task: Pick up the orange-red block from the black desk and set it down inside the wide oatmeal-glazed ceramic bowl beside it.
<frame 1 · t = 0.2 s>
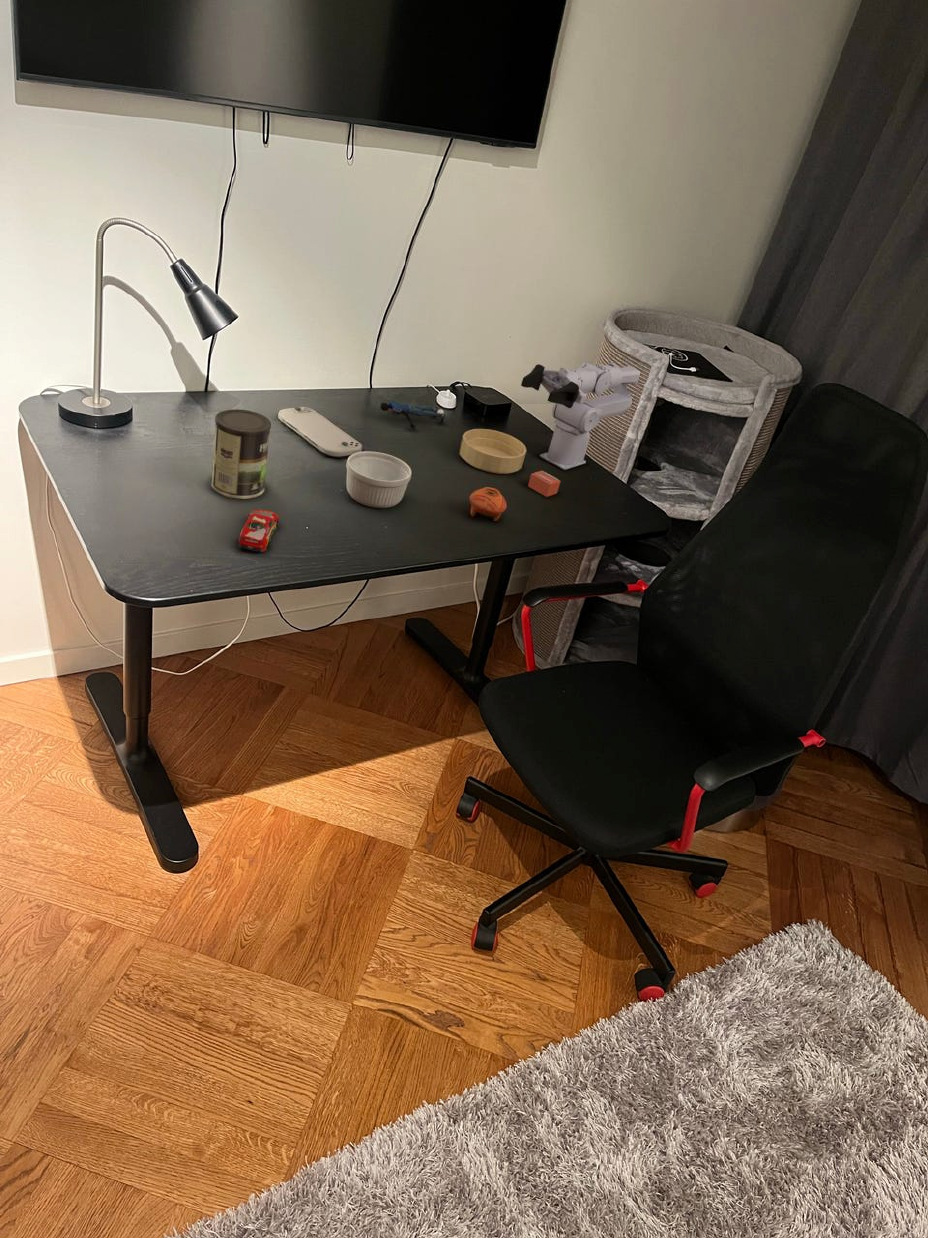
hand: (536, 389, 199), 21 cm above the table, tool horizontal, fingers open, 7 cm apart
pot: (484, 516, 191), on the table
coffee can: (237, 487, 179), on the table
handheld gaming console: (318, 437, 206), on the table
ramekin: (374, 496, 188), on the table
race car: (258, 537, 166), on the table
bowl: (490, 460, 216), on the table
person figurine: (410, 422, 225), on the table
orange-red block: (542, 489, 208), on the table
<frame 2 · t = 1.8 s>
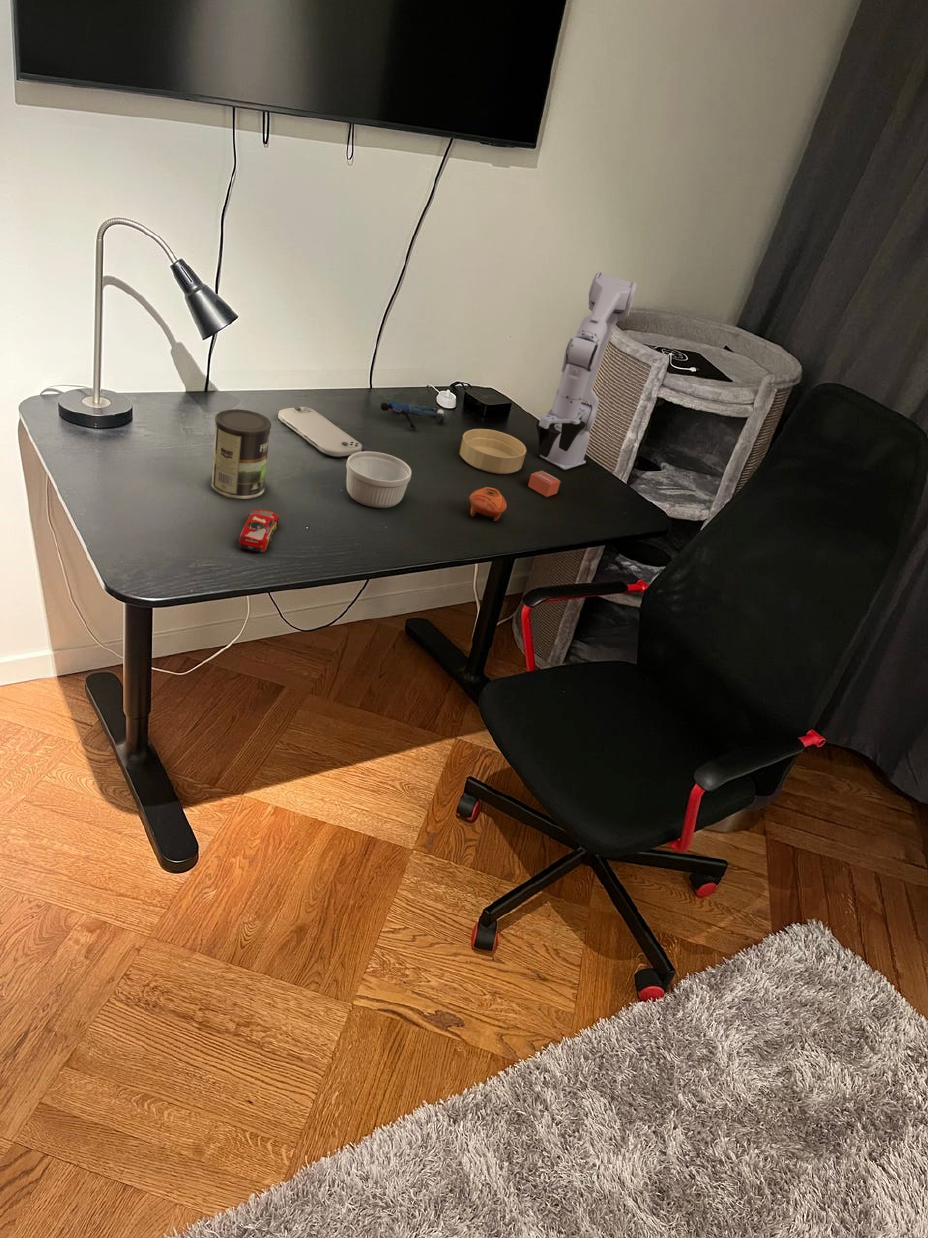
hand: (553, 452, 203), 9 cm above the table, tool pointing down, fingers open, 7 cm apart
nothing on the table moved.
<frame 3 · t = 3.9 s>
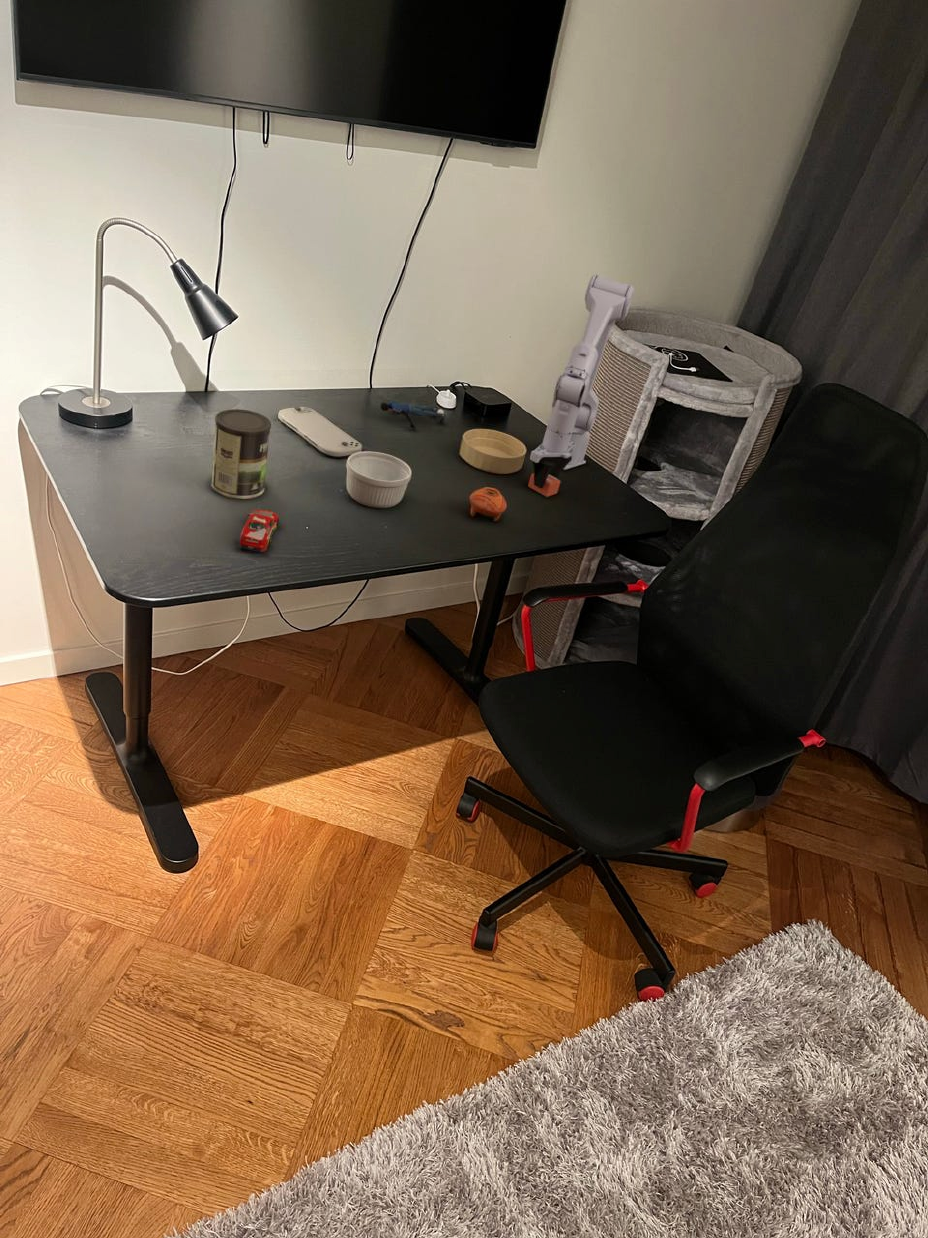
hand: (543, 484, 207), 1 cm above the table, tool pointing down, fingers closed on orange-red block, 4 cm apart
orange-red block: (542, 489, 208), on the table, touching gripper
everything else where it was.
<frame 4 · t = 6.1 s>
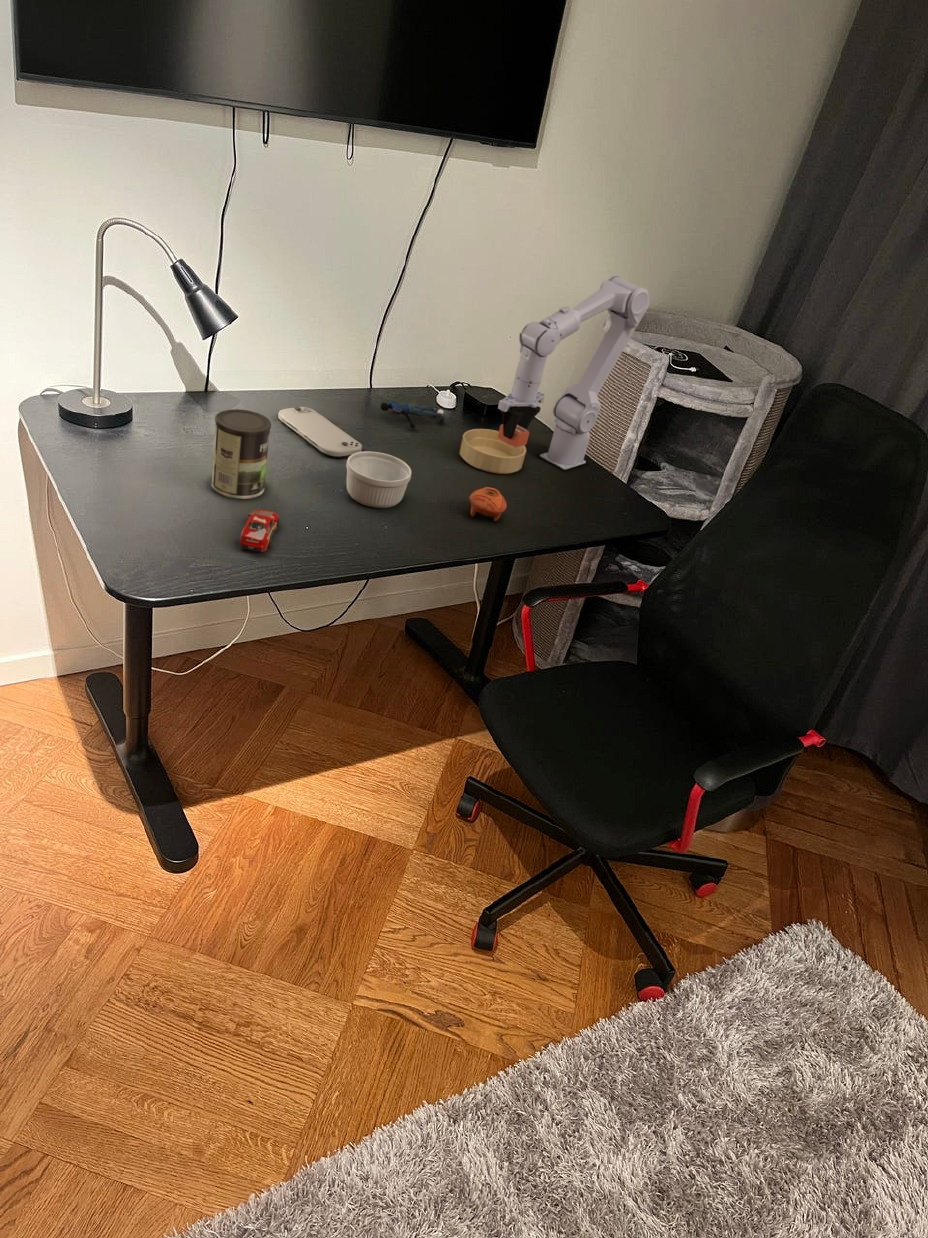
hand: (513, 435, 209), 8 cm above the table, tool pointing down, fingers closed on orange-red block, 4 cm apart
orange-red block: (511, 440, 210), point 7 cm above the table, touching gripper
everything else where it was.
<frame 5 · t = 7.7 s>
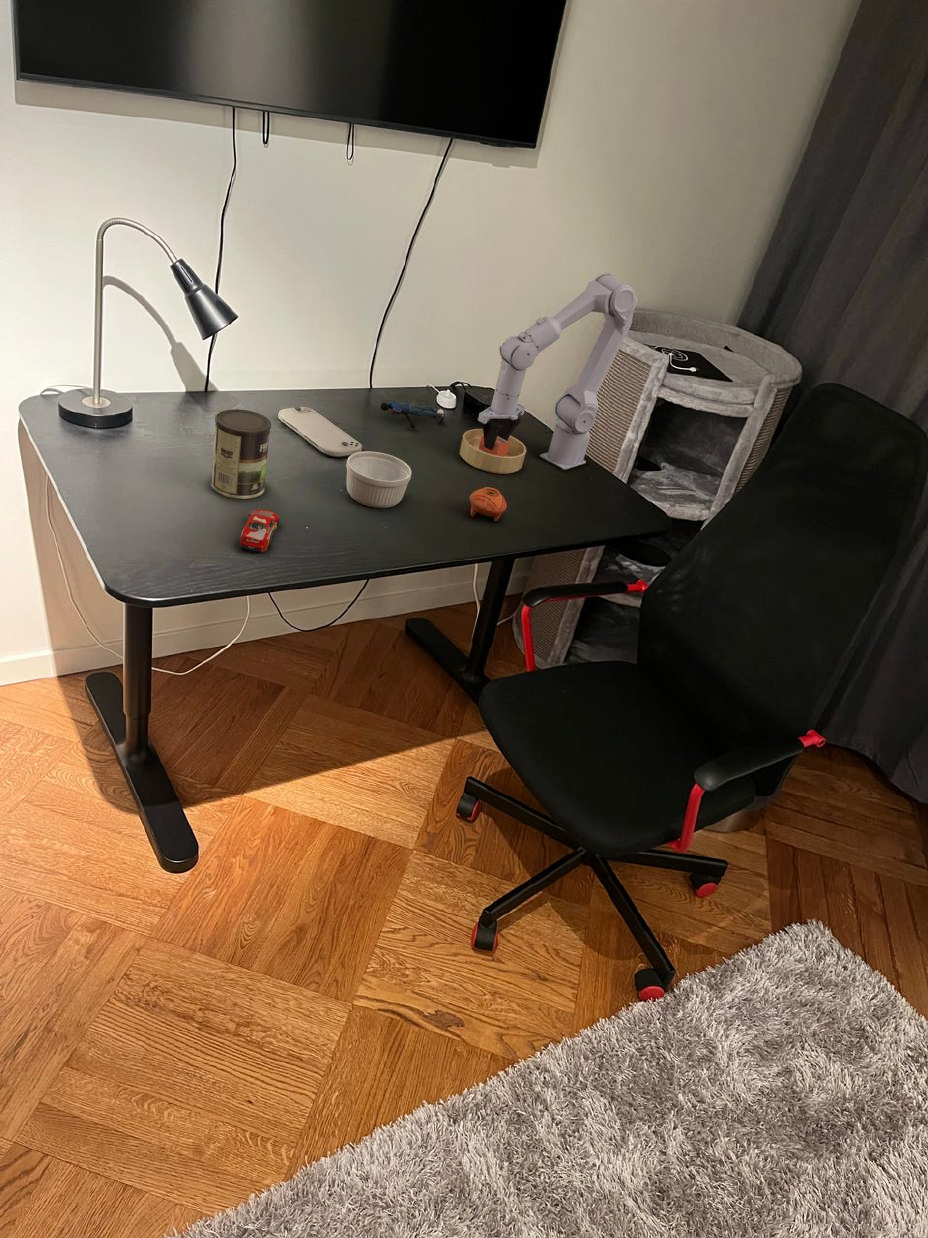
hand: (493, 446, 214), 4 cm above the table, tool pointing down, fingers closed on orange-red block, 4 cm apart
orange-red block: (492, 451, 214), point 2 cm above the table, touching gripper
everything else where it was.
when the fingers open (2 cm above the table, at t = 8.6 s): orange-red block stays where it is, resting on bowl.
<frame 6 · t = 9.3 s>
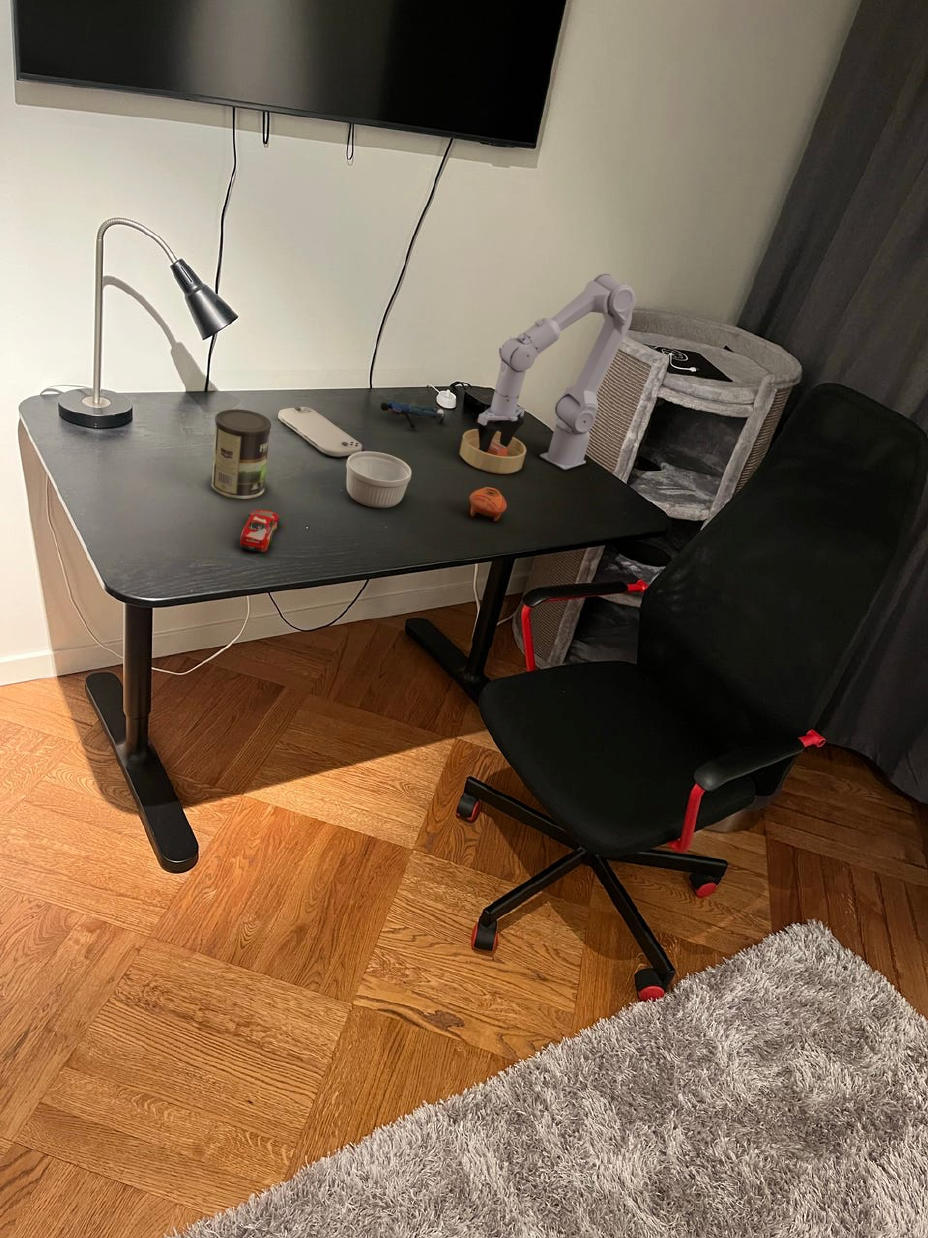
hand: (493, 447, 214), 3 cm above the table, tool pointing down, fingers open, 7 cm apart
orange-red block: (491, 457, 215), point 1 cm above the table, touching bowl
everything else where it was.
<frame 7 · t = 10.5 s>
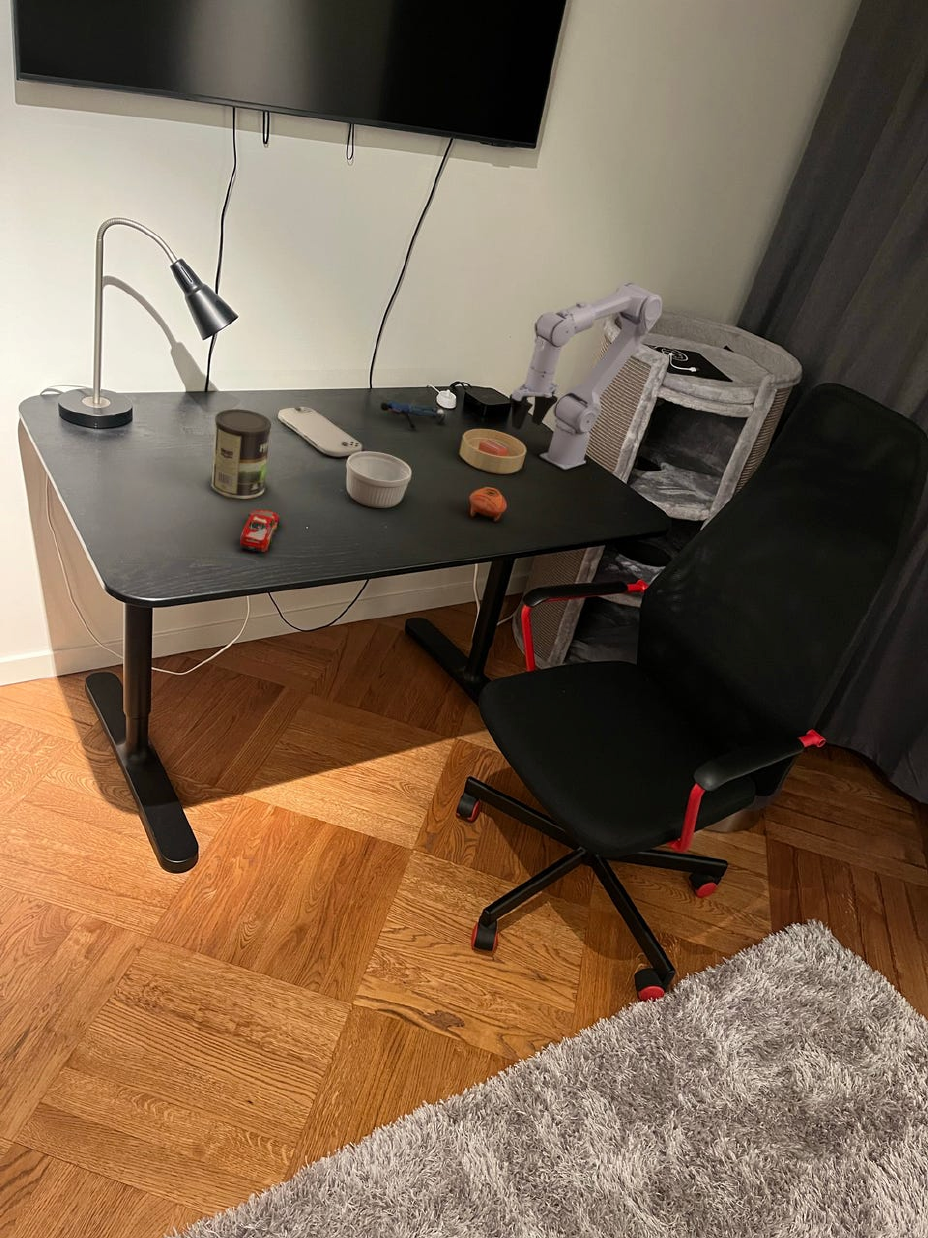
hand: (526, 425, 210), 10 cm above the table, tool pointing down, fingers open, 7 cm apart
nothing on the table moved.
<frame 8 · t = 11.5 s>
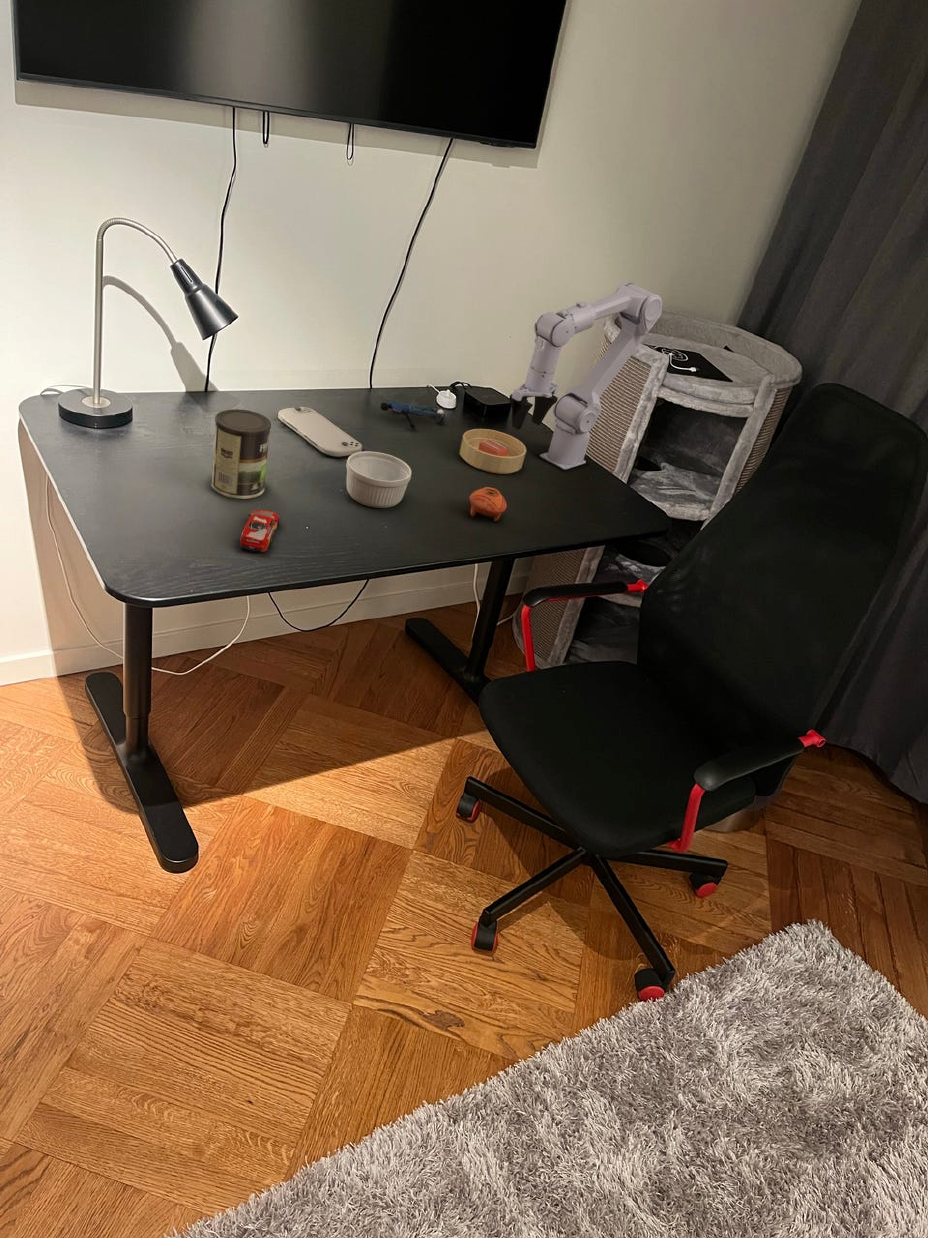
hand: (526, 425, 210), 10 cm above the table, tool pointing down, fingers open, 7 cm apart
nothing on the table moved.
at the end: orange-red block inside the target area in the bowl (0.0 cm from its centre), point 0.6 cm above the bowl's base; the gripper is holding nothing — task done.
